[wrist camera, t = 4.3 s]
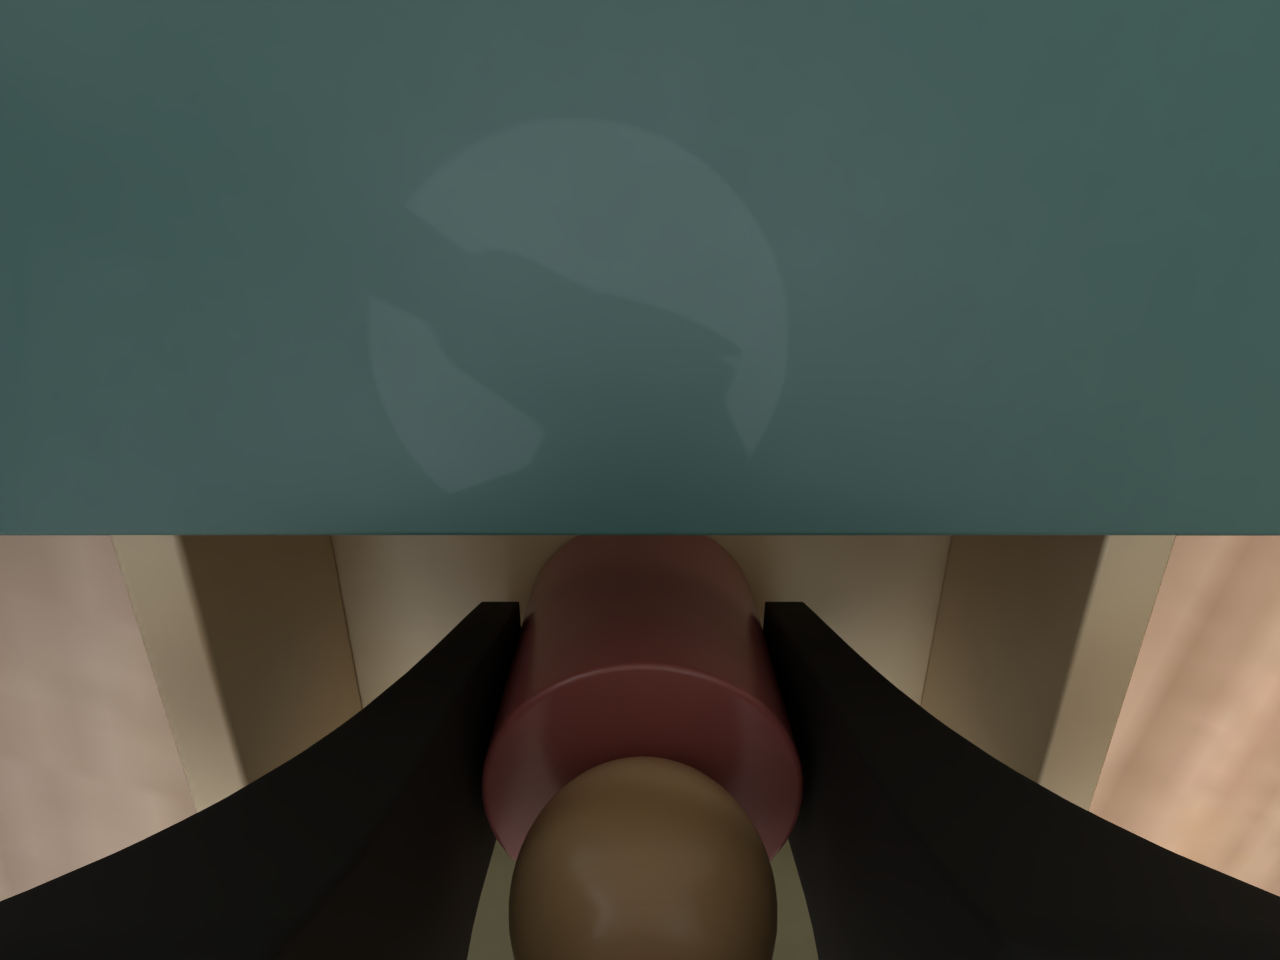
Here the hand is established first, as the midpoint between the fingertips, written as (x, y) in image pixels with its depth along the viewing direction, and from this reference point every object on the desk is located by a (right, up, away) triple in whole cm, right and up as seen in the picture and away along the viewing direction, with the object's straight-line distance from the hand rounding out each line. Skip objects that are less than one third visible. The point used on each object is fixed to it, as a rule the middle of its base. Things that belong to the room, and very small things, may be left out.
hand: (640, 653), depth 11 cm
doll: (0, 0, +1) cm, 1 cm away
